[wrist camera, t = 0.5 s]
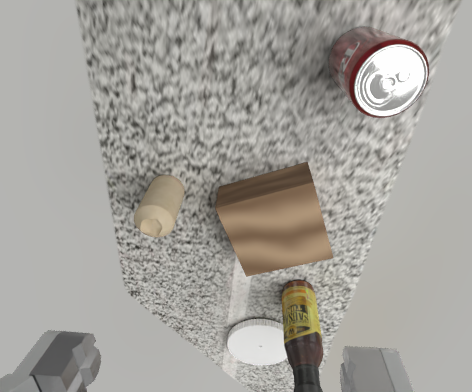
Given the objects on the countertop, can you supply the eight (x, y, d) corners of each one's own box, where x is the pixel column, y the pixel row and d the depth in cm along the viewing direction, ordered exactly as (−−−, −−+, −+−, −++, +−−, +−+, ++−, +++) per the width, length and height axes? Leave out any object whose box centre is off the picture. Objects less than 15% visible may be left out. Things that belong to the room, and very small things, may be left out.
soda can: (336, 97, 44) (360, 131, 34) (319, 42, 40) (341, 61, 30) (393, 74, 42) (437, 102, 32) (380, 14, 39) (425, 24, 28)
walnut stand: (219, 186, 52) (215, 208, 47) (307, 161, 49) (313, 182, 44) (247, 251, 59) (246, 276, 54) (326, 233, 56) (333, 257, 51)
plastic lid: (286, 310, 67) (287, 321, 65) (297, 351, 74) (298, 361, 72) (220, 319, 70) (219, 329, 68) (237, 357, 77) (236, 368, 75)
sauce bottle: (301, 273, 61) (318, 381, 44) (320, 291, 63) (343, 401, 47) (273, 288, 64) (279, 396, 47) (292, 305, 66) (305, 414, 49)
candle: (190, 199, 54) (177, 239, 45) (159, 207, 55) (141, 247, 46) (176, 170, 51) (161, 207, 42) (144, 179, 52) (123, 216, 44)
